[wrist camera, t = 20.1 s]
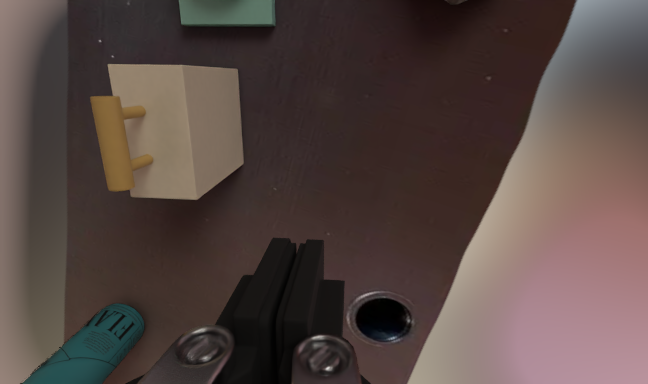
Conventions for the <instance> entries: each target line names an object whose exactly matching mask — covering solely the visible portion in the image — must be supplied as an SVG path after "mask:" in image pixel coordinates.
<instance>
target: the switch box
mask: <svg viewBox="0 0 648 384" xmlns="http://www.w3.org/2000/svg"><path fill="white" fill-rule="evenodd" d="M179 7H180V16H181V24H182V25H185V26H275V0H179Z"/></svg>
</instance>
